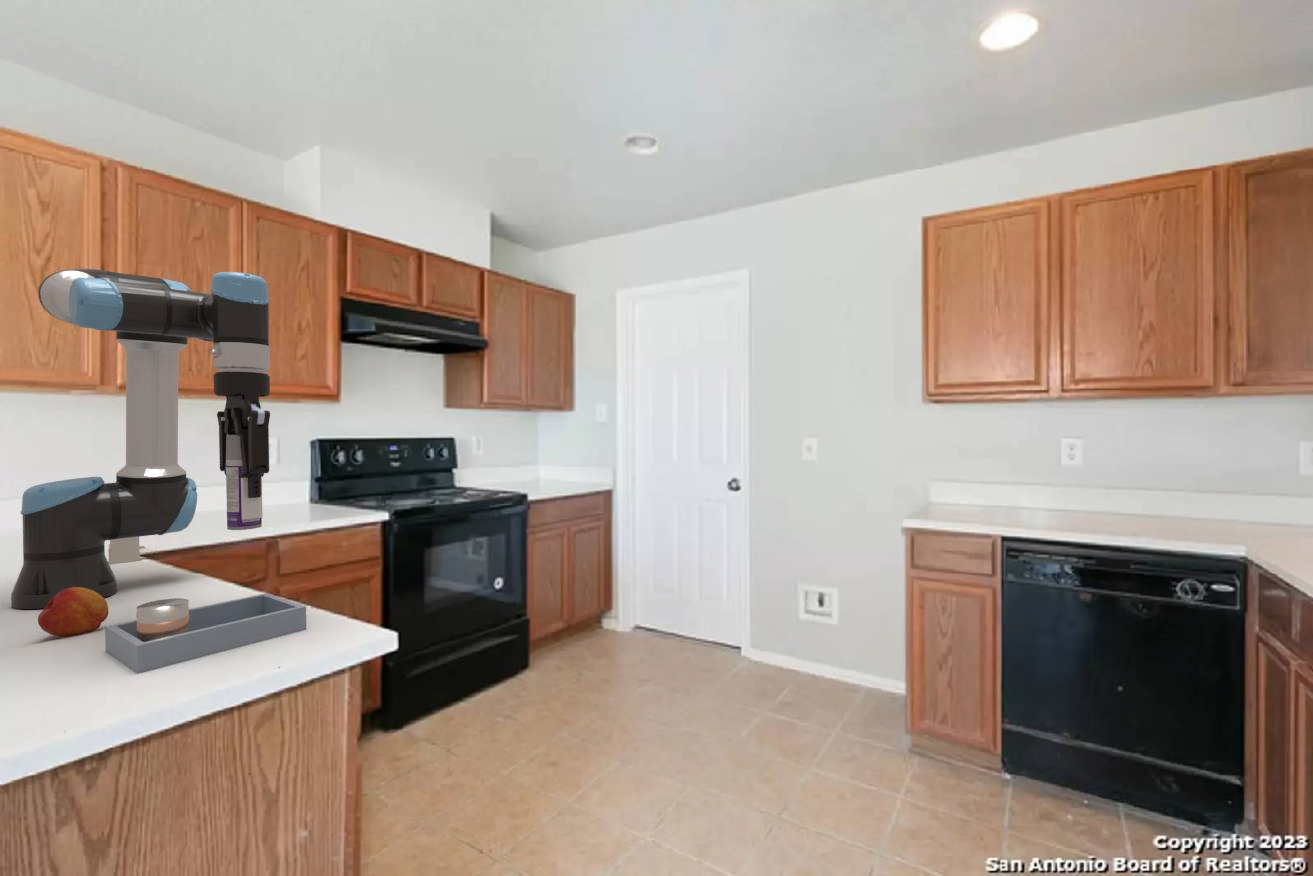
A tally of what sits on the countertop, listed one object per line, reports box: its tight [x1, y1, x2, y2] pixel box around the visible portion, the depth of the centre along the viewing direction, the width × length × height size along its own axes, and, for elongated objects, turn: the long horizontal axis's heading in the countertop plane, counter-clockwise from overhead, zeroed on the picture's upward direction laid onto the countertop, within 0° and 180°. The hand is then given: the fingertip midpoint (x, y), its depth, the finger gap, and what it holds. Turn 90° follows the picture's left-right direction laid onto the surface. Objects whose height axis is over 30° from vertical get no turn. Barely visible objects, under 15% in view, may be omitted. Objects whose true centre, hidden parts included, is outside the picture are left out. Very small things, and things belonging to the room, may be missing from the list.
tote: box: [104, 592, 307, 674], centre depth 98 cm, size 14×22×4 cm, turn 145°
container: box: [225, 435, 263, 531], centre depth 101 cm, size 5×5×15 cm
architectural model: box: [107, 537, 146, 566], centre depth 156 cm, size 3×7×7 cm, turn 136°
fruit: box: [37, 587, 109, 638], centre depth 102 cm, size 8×8×8 cm
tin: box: [136, 597, 190, 642], centre depth 93 cm, size 6×6×7 cm
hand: (244, 516), depth 101 cm, fingers closed on container, 5 cm apart
